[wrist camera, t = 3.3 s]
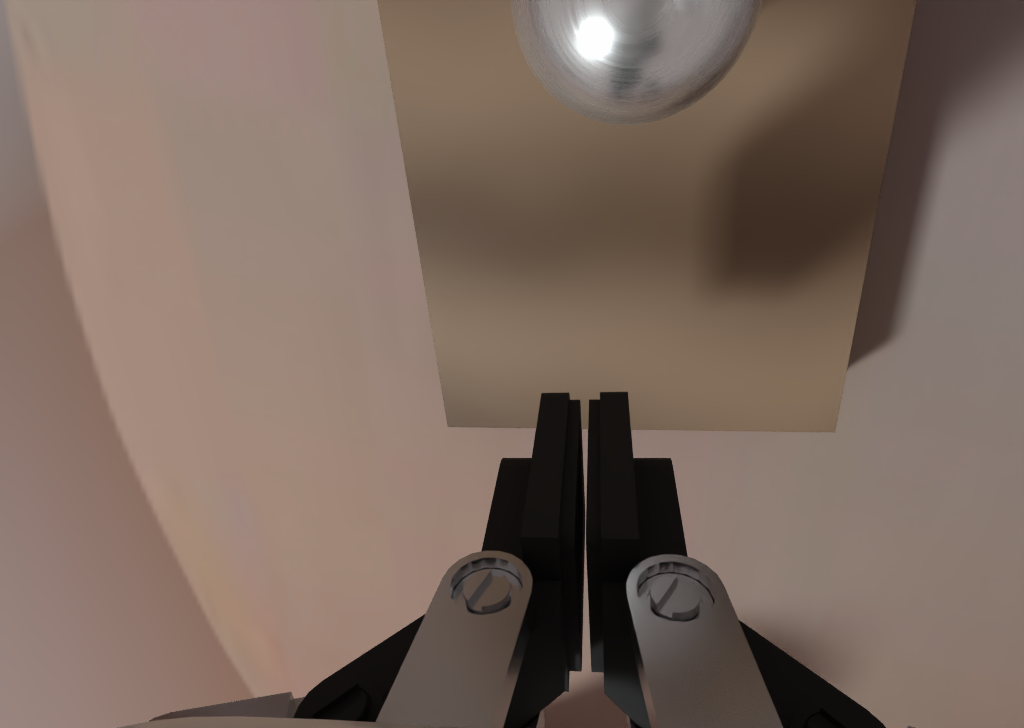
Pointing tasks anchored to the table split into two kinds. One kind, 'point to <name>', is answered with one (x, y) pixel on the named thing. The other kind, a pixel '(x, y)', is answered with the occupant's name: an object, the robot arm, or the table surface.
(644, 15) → the steel ball
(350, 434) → the table surface
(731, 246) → the slotted wooden board
